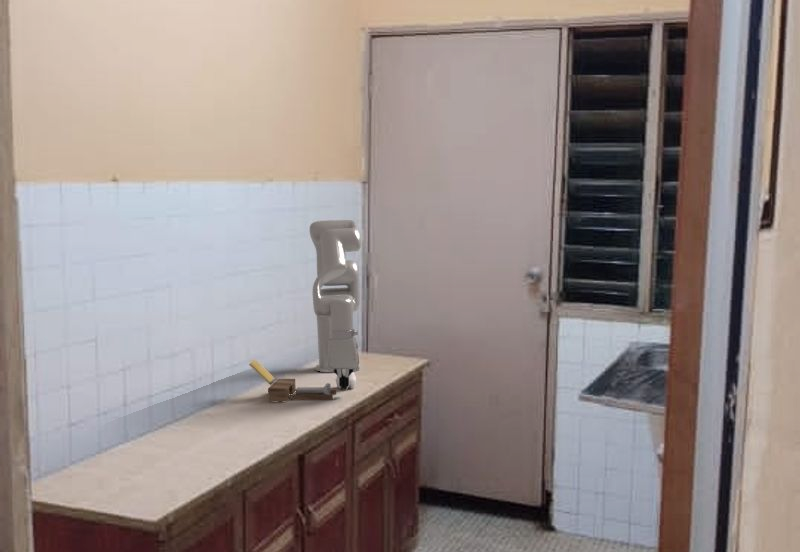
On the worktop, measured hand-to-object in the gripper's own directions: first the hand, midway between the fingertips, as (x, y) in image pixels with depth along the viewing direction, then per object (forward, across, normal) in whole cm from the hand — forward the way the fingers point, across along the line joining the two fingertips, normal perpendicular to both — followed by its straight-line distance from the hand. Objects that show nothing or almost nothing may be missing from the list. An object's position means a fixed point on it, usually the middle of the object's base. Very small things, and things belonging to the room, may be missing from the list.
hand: (344, 388), depth 288 cm
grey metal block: (+3, +12, 0) cm, 12 cm away
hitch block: (+3, +14, 0) cm, 14 cm away
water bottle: (+3, +2, -12) cm, 13 cm away
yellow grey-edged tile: (-5, +28, 0) cm, 29 cm away
